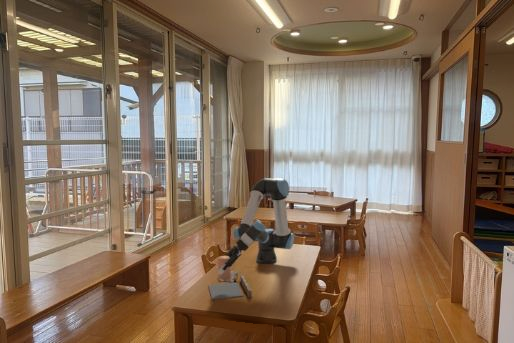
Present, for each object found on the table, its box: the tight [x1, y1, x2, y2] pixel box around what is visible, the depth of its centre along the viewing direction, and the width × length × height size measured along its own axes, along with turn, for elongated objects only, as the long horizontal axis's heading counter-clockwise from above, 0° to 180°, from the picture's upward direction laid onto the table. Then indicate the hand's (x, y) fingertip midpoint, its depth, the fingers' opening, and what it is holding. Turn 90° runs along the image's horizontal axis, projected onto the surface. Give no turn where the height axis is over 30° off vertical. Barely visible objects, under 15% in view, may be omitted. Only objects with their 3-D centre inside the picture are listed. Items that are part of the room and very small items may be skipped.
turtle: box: [218, 266, 242, 283], centre depth 236 cm, size 16×10×10 cm, turn 83°
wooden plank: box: [239, 274, 253, 299], centre depth 222 cm, size 26×2×4 cm, turn 13°
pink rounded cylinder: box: [217, 255, 231, 280], centre depth 217 cm, size 7×7×12 cm
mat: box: [208, 281, 244, 301], centre depth 219 cm, size 20×18×1 cm
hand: (218, 271), depth 216 cm, fingers closed on pink rounded cylinder, 7 cm apart
